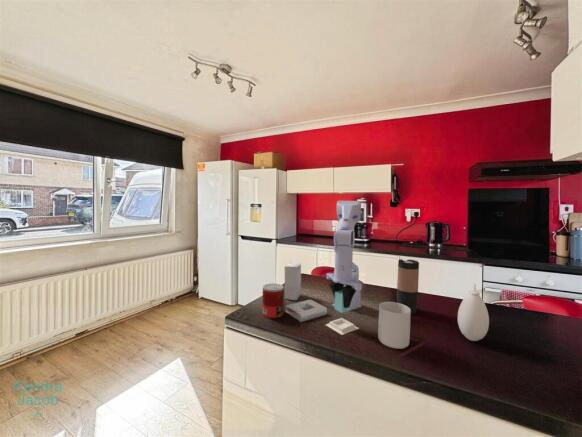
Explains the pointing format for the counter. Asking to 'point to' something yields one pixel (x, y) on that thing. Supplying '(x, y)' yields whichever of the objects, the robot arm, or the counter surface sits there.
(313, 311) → the port panel
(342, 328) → the white square dish
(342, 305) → the plug
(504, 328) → the counter surface
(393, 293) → the counter surface
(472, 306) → the sauce bottle
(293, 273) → the skincare box
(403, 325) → the mug
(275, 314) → the canned food
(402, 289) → the travel mug
